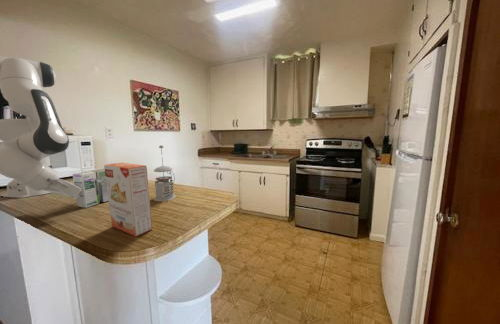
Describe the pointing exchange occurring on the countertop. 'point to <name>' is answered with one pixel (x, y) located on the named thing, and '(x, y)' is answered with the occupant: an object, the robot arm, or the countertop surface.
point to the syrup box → (86, 188)
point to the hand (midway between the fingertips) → (77, 196)
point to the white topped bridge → (99, 173)
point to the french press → (164, 184)
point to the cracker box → (129, 197)
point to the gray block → (102, 189)
